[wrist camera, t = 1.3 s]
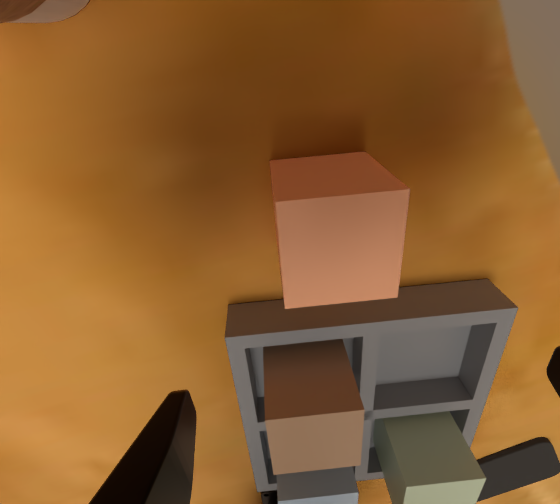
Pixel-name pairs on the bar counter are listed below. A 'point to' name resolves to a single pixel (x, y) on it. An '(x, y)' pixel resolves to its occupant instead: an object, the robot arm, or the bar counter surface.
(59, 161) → the bar counter surface
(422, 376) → the grid tray
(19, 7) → the coffee cup
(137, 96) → the bar counter surface
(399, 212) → the terracotta block
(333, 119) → the bar counter surface
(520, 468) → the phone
